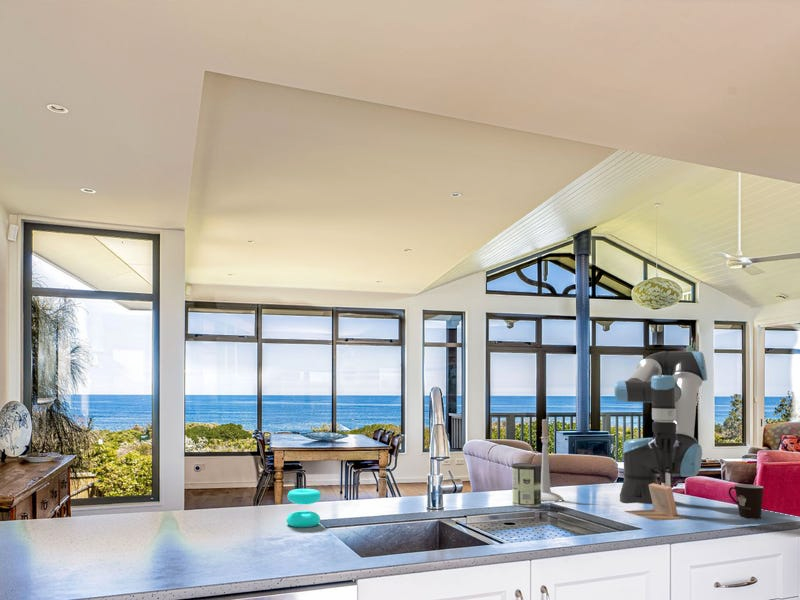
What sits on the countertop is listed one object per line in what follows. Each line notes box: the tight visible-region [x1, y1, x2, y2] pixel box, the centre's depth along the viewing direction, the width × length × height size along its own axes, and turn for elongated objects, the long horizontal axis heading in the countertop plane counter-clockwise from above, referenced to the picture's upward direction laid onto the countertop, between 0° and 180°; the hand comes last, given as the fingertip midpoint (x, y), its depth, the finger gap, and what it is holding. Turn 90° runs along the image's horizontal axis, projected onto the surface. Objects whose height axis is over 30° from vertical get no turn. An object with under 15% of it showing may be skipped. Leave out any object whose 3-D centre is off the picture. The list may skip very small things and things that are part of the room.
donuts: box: [286, 488, 322, 528], centre depth 207 cm, size 10×10×10 cm
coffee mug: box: [728, 483, 764, 520], centre depth 231 cm, size 12×9×10 cm
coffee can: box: [511, 462, 542, 508], centre depth 246 cm, size 10×10×14 cm
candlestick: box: [539, 418, 564, 501], centre depth 260 cm, size 13×13×30 cm
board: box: [623, 509, 692, 522], centre depth 226 cm, size 16×14×1 cm
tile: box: [649, 483, 678, 516], centre depth 229 cm, size 9×2×9 cm, turn 19°
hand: (666, 492), depth 229 cm, fingers closed
